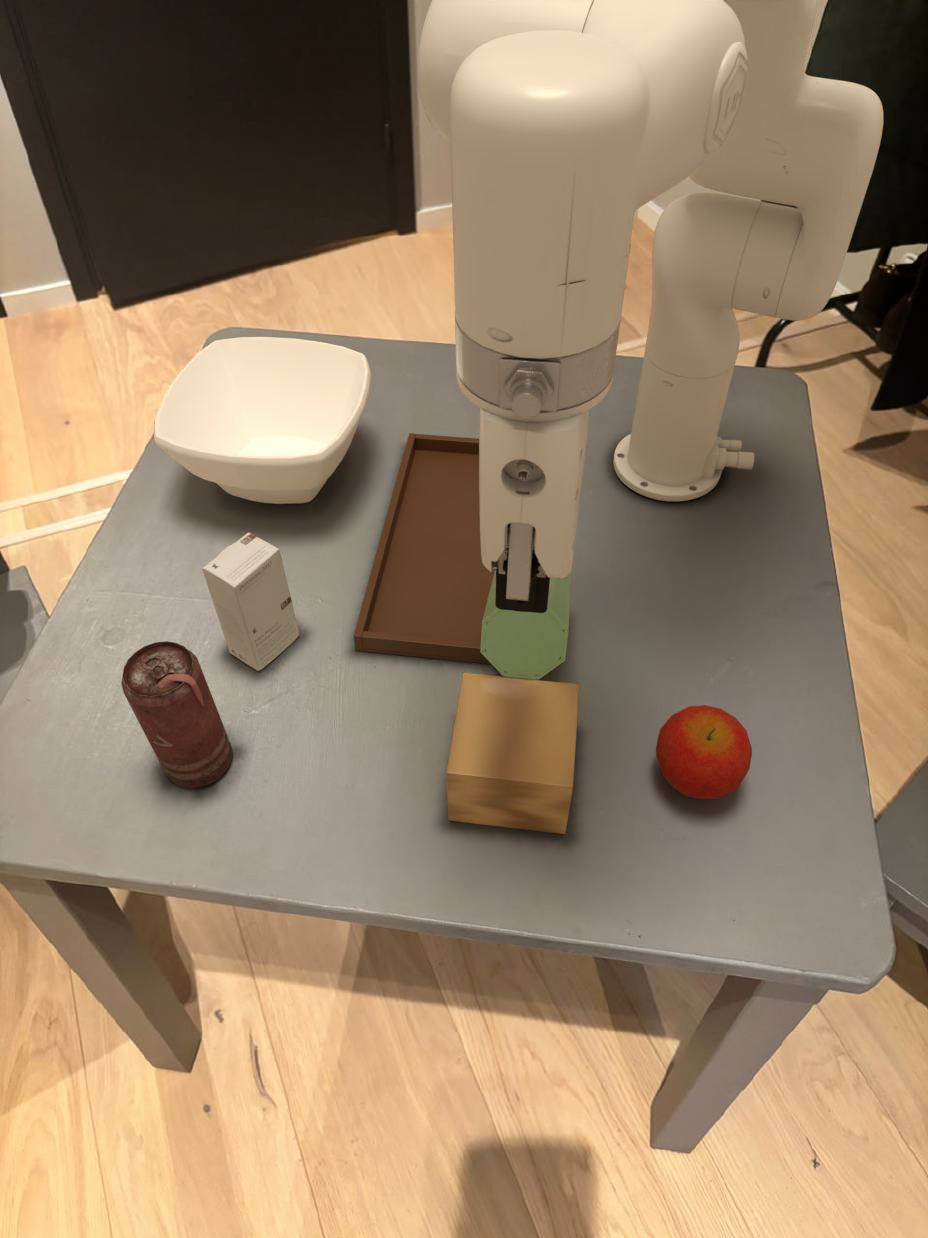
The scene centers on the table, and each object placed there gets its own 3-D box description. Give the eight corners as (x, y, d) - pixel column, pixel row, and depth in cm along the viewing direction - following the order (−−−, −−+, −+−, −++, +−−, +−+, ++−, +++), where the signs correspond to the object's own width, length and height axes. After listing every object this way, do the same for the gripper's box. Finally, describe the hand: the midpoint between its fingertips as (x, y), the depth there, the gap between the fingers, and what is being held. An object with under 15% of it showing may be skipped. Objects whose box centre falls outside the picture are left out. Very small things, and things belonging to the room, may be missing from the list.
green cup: (562, 682, 76) (566, 613, 89) (571, 606, 73) (573, 545, 86) (478, 674, 77) (494, 606, 89) (483, 597, 74) (499, 539, 86)
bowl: (394, 426, 112) (387, 344, 103) (348, 552, 98) (336, 469, 89) (225, 409, 114) (204, 328, 106) (157, 529, 100) (126, 446, 92)
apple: (702, 727, 83) (720, 676, 77) (757, 794, 78) (781, 746, 72) (632, 760, 81) (645, 711, 75) (685, 831, 76) (703, 785, 70)
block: (571, 735, 82) (579, 683, 76) (565, 834, 76) (573, 787, 70) (464, 723, 83) (463, 672, 77) (448, 820, 77) (446, 772, 71)
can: (221, 796, 79) (181, 705, 68) (154, 784, 79) (104, 692, 69) (246, 738, 82) (212, 643, 72) (181, 727, 83) (138, 632, 73)
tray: (554, 459, 108) (556, 444, 106) (532, 668, 87) (533, 654, 86) (410, 448, 109) (409, 432, 107) (355, 650, 89) (353, 636, 87)
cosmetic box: (260, 674, 87) (234, 590, 78) (227, 653, 89) (198, 568, 80) (302, 633, 90) (283, 549, 81) (270, 614, 92) (247, 529, 83)
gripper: (611, 457, 37) (575, 706, 51) (620, 268, 46) (587, 523, 61) (431, 444, 38) (445, 693, 52) (476, 260, 47) (477, 514, 61)
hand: (522, 601), depth 56 cm, fingers closed
